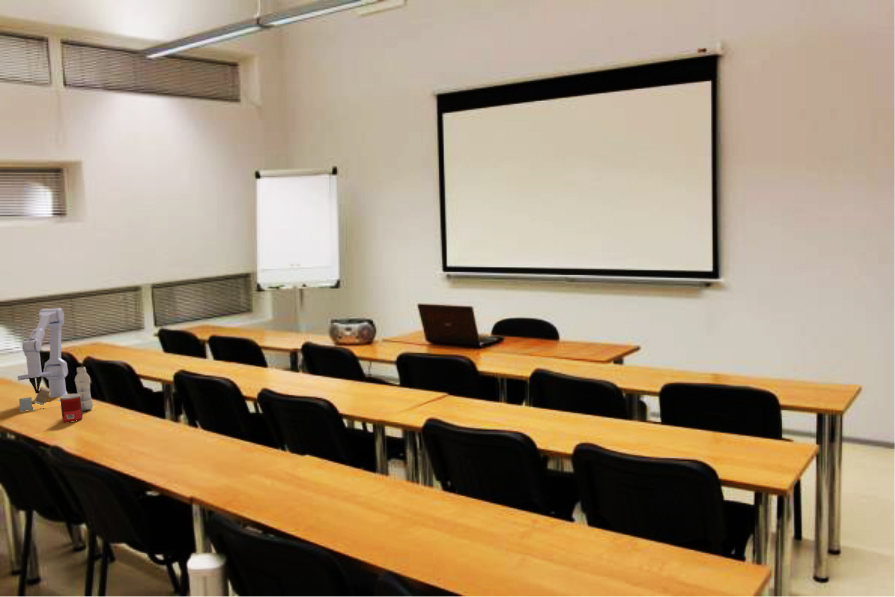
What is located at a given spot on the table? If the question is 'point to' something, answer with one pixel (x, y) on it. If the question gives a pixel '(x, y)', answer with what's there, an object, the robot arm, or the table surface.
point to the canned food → (71, 407)
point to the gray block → (25, 404)
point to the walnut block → (42, 396)
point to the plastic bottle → (83, 388)
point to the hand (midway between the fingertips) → (37, 393)
